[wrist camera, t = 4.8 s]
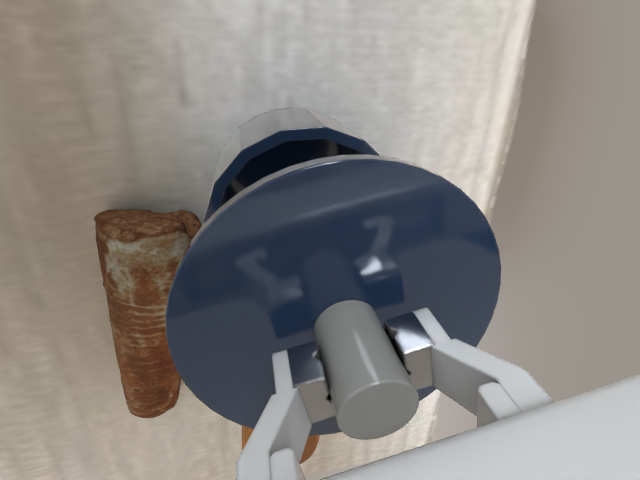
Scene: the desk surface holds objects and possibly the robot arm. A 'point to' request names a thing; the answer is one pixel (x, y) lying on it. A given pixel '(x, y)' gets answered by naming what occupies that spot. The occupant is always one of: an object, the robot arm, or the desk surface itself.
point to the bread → (143, 298)
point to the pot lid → (329, 286)
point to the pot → (278, 149)
